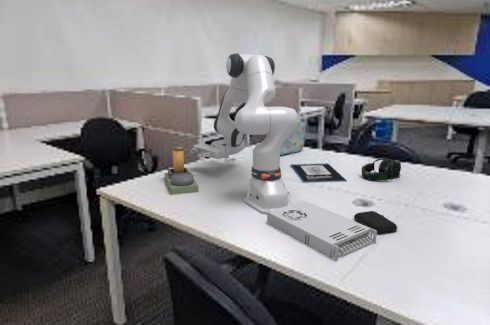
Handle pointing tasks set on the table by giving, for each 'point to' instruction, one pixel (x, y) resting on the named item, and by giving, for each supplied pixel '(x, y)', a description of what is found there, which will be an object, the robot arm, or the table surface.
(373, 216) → the carrying case or bag
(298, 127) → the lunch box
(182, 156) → the orange pill bottle
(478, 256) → the table surface
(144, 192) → the table surface
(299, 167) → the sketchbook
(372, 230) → the power supply unit
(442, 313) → the table surface
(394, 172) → the headphones
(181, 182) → the green slab
